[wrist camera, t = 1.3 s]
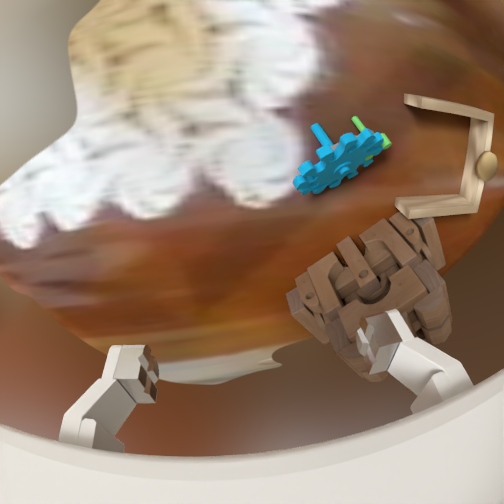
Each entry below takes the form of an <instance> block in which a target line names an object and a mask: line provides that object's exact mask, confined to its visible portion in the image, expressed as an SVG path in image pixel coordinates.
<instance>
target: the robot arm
mask: <svg viewBox="0 0 504 504" xmlns="http://www.w3.org/2000/svg"><path fill="white" fill-rule="evenodd" d="M359 325H360V327H361V328H360V329H359V330H358V331H357V334H356V344H357V348H358V351H359V353H360V354H362V355H363V356H365V358H364V361H363V363H364V365H365V367H366V370H367V372H368V375H370V374H374V373H378V372H382V371H386V370H388V372H389V373H390V374H391V375H393V376H394V377H395V378H396V379H398V380H399V381H400V382H401V383H402V384H404V385H405V386H406V387H407V388H409V389H410V390H411V391H412V392H414V393H415V394H416V395H417V396H418V397H417V398H416V400H415V401H414V402H413V404H412V405H411V410H412V413H413V415H410V416H408V417H405V418H403V419H400V420H397V421H394V422H391V423H389V424H386V425H383V426H380V427H377V428H373V429H370V430H367V431H364V432H360V433H357V434H353V435H349V436H346V437H342V438H338V439H334V440H330V441H325V442H321V443H316V444H312V445H307V446H301V447H295V448H290V449H283V450H276V451H269V452H261V453H252V454H242V455H228V456H207V457H175V456H151V455H138V454H128V453H124V444H123V443H122V442H121V441H119V440H118V439H117V438H115V437H114V436H115V434H116V433H117V431H118V430H119V429H120V427H121V426H122V424H123V423H124V421H125V420H126V419H127V417H128V416H129V414H130V413H131V411H132V410H133V409H134V407H135V406H136V403H155V402H156V395H157V388H156V386H155V385H154V384H155V383H156V381H157V380H158V378H159V368H158V363H157V360H156V359H155V357H154V356H152V355H150V354H151V349H150V348H149V346H148V345H112V346H111V348H110V349H109V353H108V356H107V360H106V364H105V367H104V371H103V375H102V379H98V380H97V381H96V382H95V383H94V384H93V385H92V386H91V387H90V388H89V389H88V390H87V391H86V392H85V393H84V394H83V395H82V396H81V397H80V398H79V399H78V400H77V402H76V403H75V404H74V405H73V406H72V407H71V408H70V409H69V410H68V411H67V412H66V413H65V414H64V418H63V422H62V426H61V430H60V435H59V439H58V441H55V440H51V439H47V438H43V437H40V436H36V435H33V434H29V433H26V432H23V431H20V430H17V429H14V428H12V427H9V426H6V425H2V424H0V504H504V369H502V370H501V371H499V372H497V373H496V374H494V375H492V376H491V377H489V378H487V379H486V380H484V381H482V382H480V383H479V384H477V385H475V386H473V384H472V382H471V380H470V378H469V376H468V375H467V373H466V371H465V369H464V368H463V366H462V364H461V363H460V362H459V361H457V360H456V359H454V358H452V357H450V356H449V355H447V354H445V353H444V352H442V351H440V350H439V349H437V348H435V347H434V346H432V345H430V344H428V343H427V342H425V341H423V340H422V339H420V338H418V337H416V338H414V336H413V334H412V333H411V331H410V329H409V328H408V326H407V324H406V323H405V321H404V319H403V318H402V316H401V315H400V313H399V311H398V310H396V309H393V310H389V311H385V312H380V313H375V314H371V315H367V316H363V317H361V319H360V321H359Z"/></svg>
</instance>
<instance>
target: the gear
mask: <svg viewBox="0 0 504 504" xmlns="http://www.w3.org/2000/svg"><path fill="white" fill-rule="evenodd" d="M351 120H352V121H353V123H354V124H355V125H356V127H357V128H358V129H359V131H360V132H361V133H360V134H359V135H357V136H355V135H354V134H353V133H347V134H343V135H342V136H341V137H340V142H339V143H336V144H334V145H333V143H332V142H331V140H330V139H329V137H328V136H327V134H326V133H325V132H324V130H323V129H322V127H321V126H320V125H319V123H316V124H314V125H312V126H311V130H312V131H313V133H314V134H315V136H316V137H317V139H318V140H319V142H320V143H321V145H322V146H323V147H321V148H319V149H318V150H316V153H317V155H318V157H319V158H320V162H319V163H317V164H316V165H313V164H312V163H311V161H306V162H305V163H303V164H302V165H301V166H300V167H299V168H298V170H299V171H300V173H301V175H298V176H296V177H295V178H294V180H293V184H294V186H295V187H296V189H297V190H298V189H300V191H301V193H302V194H303V195H306V194H307V193H309V192H310V191H312V192H313V193H314V194H318V193H320V192H322V191H323V190H324V189H325V188H326V187H327V186H328V185H329V187H330V188H334V187H336V186H338V185H340V183H341V180H342V179H343V178H344V177H345V176H346V175H347V177H348V179H350V178H352V177H354V176H356V175H357V174H358V172H357V170H356V169H357V167H358V166H359V165H361V164H362V165H363V166H364V167H367V166H368V165H370V164H371V163H372V162H373V159H372V157H373V155H374V156H375V155H378V154H379V153H380V152H381V151H382V150H383V149H387V148H389V147H390V146H391V145H392V144H391V142H390V141H389V139H388V138H387V137H386V135H385V134H384V133H382V134H380V133H379V132H377V133H374V132H373V131H372V130H370V129H368V128H365V127H364V125H363V124H362V123H361V121H360V120H359V119H358V117H357V116H354V117H353V118H352V119H351Z"/></svg>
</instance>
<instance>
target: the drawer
mask: <svg viewBox="0 0 504 504" xmlns="http://www.w3.org/2000/svg"><path fill="white" fill-rule="evenodd" d="M404 103H405V104H408V105H412V106H415V107H419V108H422V109H429V110H435V111H442V112H447V113H453V114H458V115H463V116H468V117H471V119H470V130H469V139H468V147H467V154H466V161H465V167H464V173H463V178H462V183H461V188H460V193H459V194H455V195H430V196H411V197H396V199H395V207H396V208H397V209H398V210H399V211H400V212H401V213H403V214H404V215H405V216H406V217H407V218H408V219H414V218H424V217H430V216H431V217H435V216H445V215H456V214H467V213H477V211H478V207H479V203H480V199H481V195H482V190H483V186H484V181H489V180H491V179H492V178H493V176H494V175H495V173H496V170H497V158H496V156H495V155H494V154H493V153H491V152H490V147H491V140H492V132H493V122H494V114H493V113H490V112H487V111H485V110H482V109H479V108H476V107H472V106H468V105H464V104H459V103H455V102H450V101H446V100H441V99H436V98H430V97H424V96H418V95H412V94H405V93H404Z"/></svg>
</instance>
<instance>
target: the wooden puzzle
mask: <svg viewBox="0 0 504 504" xmlns="http://www.w3.org/2000/svg"><path fill="white" fill-rule="evenodd" d="M389 221H390V224H391V225H390V224H389V223H388V222H387V221H386V219H385V218H383V219H382V220H380V221H379V222H377V223H376V224H374V225H373V226H372V227H370V228H369V229H367V230H366V231H364V232H363V233H361V234H360V235H359V237H360V239H361V241H362V242H363V244H364V246H365V255H364V256H363V255H362V254H361V252H360V251H359V249H358V248H357V246H356V245H355V244H354V242H353V241H352V239H351V238H350V236H348V237H347V238H345V239H344V240H342V241H341V242H339V243H338V244H336V246H337V248H338V249H339V251H340V253H341V254H342V256H343V258H344V260H345V261H346V263H347V265H348V267H344V266H343V265H342V263H341V262H340V260H339V259H338V257H337V256H336V254H335V253H334V252H331V253H330V254H328V255H327V256H325V257H324V258H322V259H321V260H319V261H318V262H316V263H314V264H313V265H311V266H310V267H308V268H307V270H308V271H306V272H305V273H303V274H301V275H300V276H298V277H297V278H295V282H296V285H297V287H296V288H294V289H293V290H291V291H290V292H288V293H286V297H287V300H288V304H289V308H290V312H291V315H292V316H293V317H294V318H295V319H296V320H297V321H298V322H299V323H301V324H302V325H303V326H304V327H305V328H306V329H307V330H308V331H309V332H310V333H312V334H313V335H314V336H315V337H316V338H317V339H318V340H319V341H320V342H322V343H323V344H326V343H328V342H330V341H331V344H332V346H333V349H334V352H335V354H337V355H338V356H339V357H340V358H341V359H342V360H343V361H344V362H345V363H347V364H348V365H349V366H350V367H351V368H352V369H353V370H354V371H355V372H356V373H358V374H359V375H360V376H361V377H362V378H365V377H366V378H367V379H368V380H369V381H370V382H377V381H383V380H384V379H385V378H386V376H387V375H388V374H389V372H388V370H386V371H382V372H378V373H374V374H370V375H368V372H367V370H366V367H365V365H364V363H363V361H364V358H365V356H363V355H362V354H360V353H359V351H358V348H357V344H356V334H357V331H358V330H359V329H360V328H361V327H360V325H359V321H360V319H361V317H363V316H367V315H371V314H375V313H380V312H385V311H389V310H393V309H396V310H398V311H399V313H400V315H401V316H402V318H403V319H404V321H405V323H406V324H407V326H408V328H409V329H410V331H411V333H412V334H413V336H414V338H416V337H418V338H420V339H422V340H423V341H425V342H427V343H431V344H432V345H435V344H439V343H443V342H445V341H446V339H447V338H448V336H449V335H450V333H451V332H452V330H451V323H452V322H453V321H452V315H451V309H450V304H449V298H448V293H447V288H446V284H445V281H444V280H443V279H442V277H441V276H440V275H439V274H438V272H437V271H438V270H439V269H440V268H442V267H443V266H444V265H446V263H445V258H444V254H443V250H442V246H441V243H440V239H439V235H438V232H437V228H436V225H435V221H434V218H432V217H431V216H430V217H424V218H414V219H408V218H407V217H406V216H405V215H404V214H403V213H401V212H400V211H399V212H398V213H396V214H395V215H393V216H392V217H391V218H389ZM396 263H398V265H397V264H396ZM398 266H399V267H400V268H399V267H398ZM377 276H378V277H379V279H380V280H381V281H380V282H379V281H378V279H377ZM342 299H343V300H344V301H343V300H342ZM406 388H407V387H406ZM407 390H408V391H409V392H410V393H412V394H414V395H416V394H415V393H414V392H412V391H411V390H410V389H409V388H407Z"/></svg>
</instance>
